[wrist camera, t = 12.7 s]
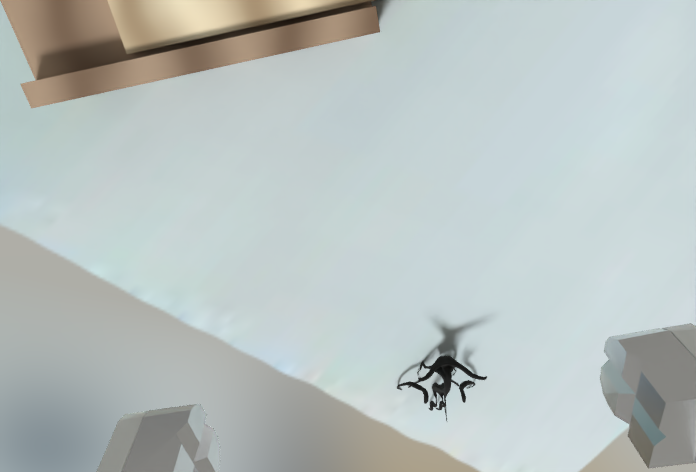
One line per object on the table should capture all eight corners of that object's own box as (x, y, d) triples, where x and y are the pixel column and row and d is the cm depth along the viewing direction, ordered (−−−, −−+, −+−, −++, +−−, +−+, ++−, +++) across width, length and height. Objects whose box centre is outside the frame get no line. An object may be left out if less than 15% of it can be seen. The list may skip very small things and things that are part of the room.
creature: (466, 393, 50) (483, 341, 45) (481, 440, 45) (501, 388, 41) (392, 394, 49) (401, 342, 44) (400, 443, 44) (411, 390, 40)
